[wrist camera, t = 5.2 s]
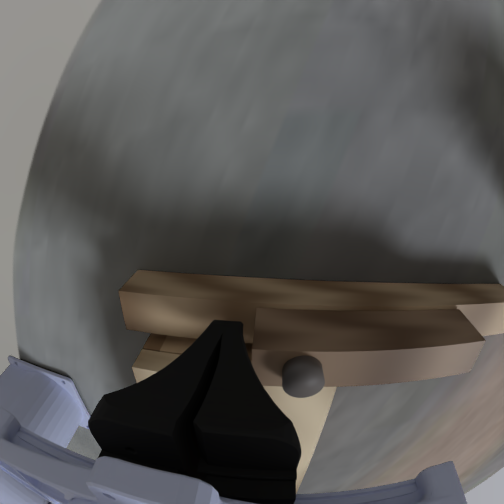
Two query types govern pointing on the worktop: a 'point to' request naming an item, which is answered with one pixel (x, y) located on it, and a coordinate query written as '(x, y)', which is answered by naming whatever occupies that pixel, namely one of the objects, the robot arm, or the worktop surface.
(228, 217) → the worktop surface
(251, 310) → the brown piece
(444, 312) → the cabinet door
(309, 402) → the lid
